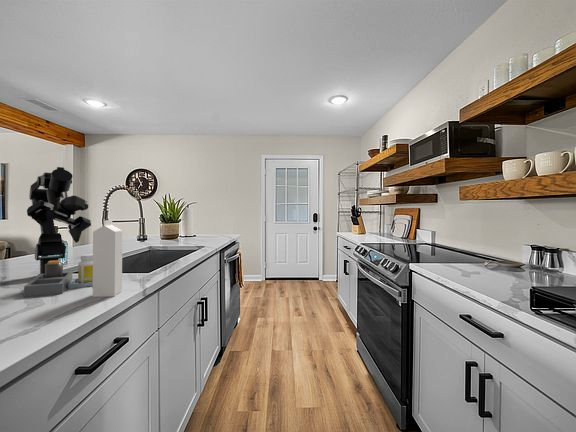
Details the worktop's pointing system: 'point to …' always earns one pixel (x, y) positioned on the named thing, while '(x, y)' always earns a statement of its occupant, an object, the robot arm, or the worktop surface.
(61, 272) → the shallow grey tray
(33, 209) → the robot arm
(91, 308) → the worktop surface
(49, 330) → the worktop surface
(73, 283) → the tray frame
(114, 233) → the milk
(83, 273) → the supplement bottle
